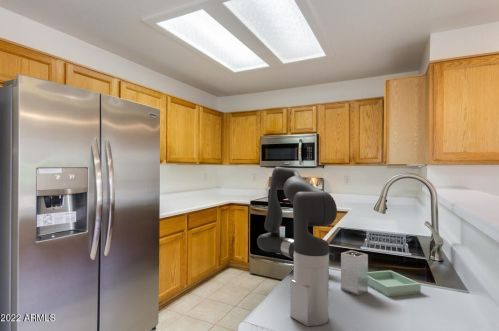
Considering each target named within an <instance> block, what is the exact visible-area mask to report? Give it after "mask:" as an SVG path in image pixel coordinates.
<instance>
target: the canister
mask: <svg viewBox="0 0 499 331" xmlns="http://www.w3.org/2000/svg"><path fill="white" fill-rule="evenodd" d="M368 272H369V255H368V254H367V253H363V252H359V251H355V250H353V249H352V250H348V251H344V252H341V253H340V290H341V291H343V292H346V293H349V294H351V295H354V296H357V297H359V296H362V295H363V294H365V293H368V290H369V286H368Z"/></svg>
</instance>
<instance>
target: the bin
mask: <svg viewBox="0 0 499 331" xmlns="http://www.w3.org/2000/svg"><path fill="white" fill-rule="evenodd" d="M421 285H422V284H421V282H417V281H415V280H413V279H411V278H408V277H407V276H404V275H402V274H401V273H398V272H395V271H393V270H391V269H390V270H378V271H368V287H370V288H372V289H373V290H375V291H377V292H378V293H380V294H382V295H384V296H385V297H397V296H405V295H406V296H407V295H414V294H415V295H416V294H421V292H422V290H421V289H422V288H421V287H422V286H421Z"/></svg>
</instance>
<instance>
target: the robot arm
mask: <svg viewBox="0 0 499 331" xmlns="http://www.w3.org/2000/svg"><path fill="white" fill-rule="evenodd" d="M269 186H270V187H269V194H268V205H267V210H266V211H267V212H266V214H265V215H266V216H265V221H264V230H265V231H266V233H263V234H260V235H259V236H258V237H257V239H256V243H257V246H258V248H259V249H260V250H262V251H264V252H271V253H278V254H281V255H283V256H286V257H288V258H290V259H293V279H292V280H290V311H289V312H290V317H291V318H292V319H294V320H295V321H297V322H299V323H301V325H304V326H306V327H310V326H323V325H324V324H327V323H328V321H329V306H330V304H329V296H330V294H329V290H330V289H329V288H330V281H329V280H330V279H329V278H330V277H329V275H330V261H334V260H335V259H336V258H335V254H334V253H331V252H330V245H329V242H328V241H327V240H326V239H324V238H321V237H318V236H315V235H313V234H311V232H309V229H308V228H309V227H327V226H331V225H332V224H334V222H335V220H336V219H337V216H338V207H337V204H336V202H335V201H336V200H335V199H334V197H333V196H332V195H331V194H330V193H328V192H326V191H323V190H321V189H319V188H317V187H316V186H314V185H313V184H311V183H310V182H309V181H308V180H306V179H305V178H304V177H302V176H301V175H300V173H299V172H298V171H297V170H296V169H293V168H290V167H289V168H288V167H283V166H282V167H281V166H275V167H274V168H273V170H272V174H271V178H270V185H269ZM278 190H282V191H283V193H284V196H285V198H286V199H287V200H288V202H290V203H291V204H292V210H293V211H292V214H293V238H288V237H284V236H281V229H280V228H281V224H282V220H283V209H282V207H281V205H280V202H279V198H278Z"/></svg>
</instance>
